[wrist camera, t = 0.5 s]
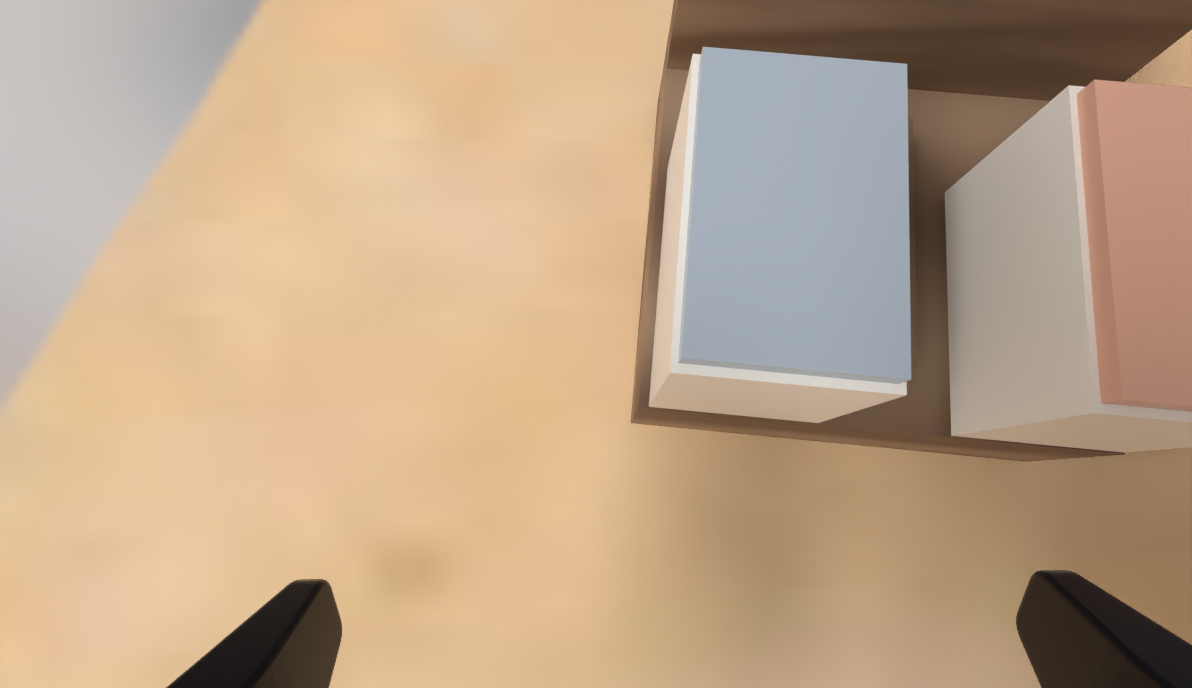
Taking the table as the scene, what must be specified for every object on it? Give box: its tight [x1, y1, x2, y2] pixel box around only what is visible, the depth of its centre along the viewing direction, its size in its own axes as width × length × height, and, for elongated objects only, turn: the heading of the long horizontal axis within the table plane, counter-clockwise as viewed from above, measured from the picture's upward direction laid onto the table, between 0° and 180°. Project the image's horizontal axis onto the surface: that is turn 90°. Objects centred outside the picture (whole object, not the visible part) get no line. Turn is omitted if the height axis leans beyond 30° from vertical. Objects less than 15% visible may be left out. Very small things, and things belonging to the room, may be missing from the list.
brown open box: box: [631, 0, 1192, 461], centre depth 18 cm, size 12×13×10 cm
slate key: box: [649, 47, 911, 423], centre depth 15 cm, size 7×4×6 cm, turn 175°
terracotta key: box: [945, 80, 1192, 453], centre depth 15 cm, size 7×4×6 cm, turn 174°
